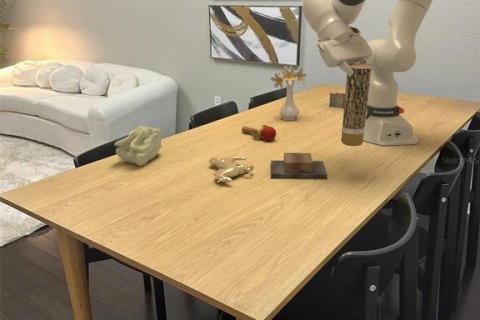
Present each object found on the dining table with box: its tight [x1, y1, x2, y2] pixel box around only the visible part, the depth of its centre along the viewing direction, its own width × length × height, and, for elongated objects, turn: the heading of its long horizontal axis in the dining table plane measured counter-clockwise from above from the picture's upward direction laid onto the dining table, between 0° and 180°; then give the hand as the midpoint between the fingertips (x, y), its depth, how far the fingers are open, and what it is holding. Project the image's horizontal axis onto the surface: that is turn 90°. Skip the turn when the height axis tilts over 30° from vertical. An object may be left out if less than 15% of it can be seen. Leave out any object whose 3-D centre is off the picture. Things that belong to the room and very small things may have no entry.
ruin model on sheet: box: [329, 92, 345, 109], centre depth 218 cm, size 11×3×10 cm, turn 61°
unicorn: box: [208, 156, 255, 183], centre depth 138 cm, size 20×4×17 cm
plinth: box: [270, 152, 328, 180], centre depth 139 cm, size 18×12×5 cm, turn 86°
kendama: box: [241, 124, 277, 142], centre depth 173 cm, size 8×6×18 cm
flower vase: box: [270, 65, 308, 121], centre depth 194 cm, size 13×18×25 cm
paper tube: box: [340, 62, 371, 147], centre depth 129 cm, size 7×7×25 cm
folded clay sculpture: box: [113, 124, 163, 167], centre depth 149 cm, size 18×13×16 cm
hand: (360, 73), depth 125 cm, fingers closed on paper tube, 7 cm apart
